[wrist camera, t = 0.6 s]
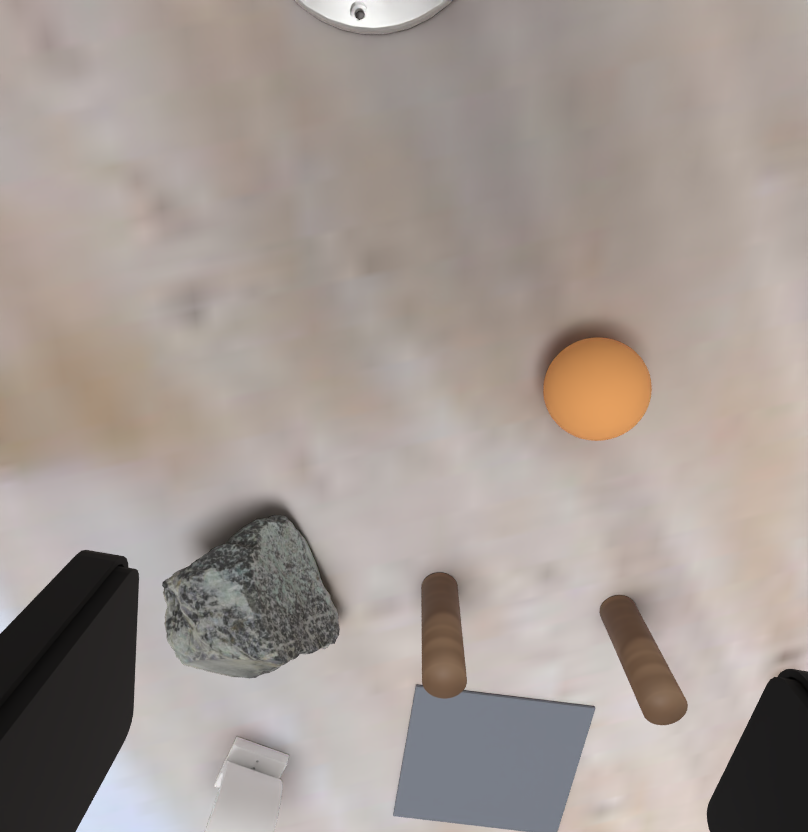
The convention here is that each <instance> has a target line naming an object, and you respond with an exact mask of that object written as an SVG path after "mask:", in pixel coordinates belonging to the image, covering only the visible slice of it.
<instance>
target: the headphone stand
mask: <svg viewBox="0 0 808 832" xmlns="http://www.w3.org/2000/svg"><path fill="white" fill-rule="evenodd" d="M288 758H289V755H288V754H285V753H282V752H279V751H276V750H274V749H271V748H268V747H265V746H262V745H260V744H257V743H254V742H251V741H248V740H246V739H243V738H240V737H236V739H235V741H234V743H233V745H232V747H231V749H230V752H229V754H228V756H227V758H226V760H225V762H224V764H223V766H222V768H221V770H220V772H219V774H218V776H217V779H216V782H215V785H214V786H215V787H218V788H219V791H218V794H217V797H216V800H215V803H214V806H213V809H212V812H211V815H210V818H209V821H208V823H207V826H206V829H205V832H274V830H275V827H276V822H277V818H278V814H279V809H280V804H281V798H282V787H283V786H282V780H280V779H279V778H280V777H281V775H282V773H283V771H284V769H285V767H286V765H287V763H288Z"/></svg>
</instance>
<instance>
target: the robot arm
mask: <svg viewBox="0 0 808 832" xmlns="http://www.w3.org/2000/svg"><path fill="white" fill-rule="evenodd" d="M295 1H296V3H297V4H298V5H299V6H300V7H302V8H303V9H305V10H306V11H308V12H309V13H310V14H312V15H313V16H315V17H316V18H318V19H319V20H321V21H323V22H325V23H327V24H330V25H332V26H334V27H337V28H339V29H341V30H345V31H350V32H355V33H360V34H388V33H393V32H397V31H401V30H405V29H409V28H411V27H413V26H415V25H417V24H419V23H422V22H424V21H426V20H428V19H430V18H431V17H433V16H434V15H435V14H437V13H438V12H439V11H441V10H442V9H443V8H444V7H446V6H447V5H448V4H450V3H451V2H452V0H295ZM358 11H363V12H364V13H365V16H364V18H363V19H362V20H357V19H356V18H355V15H356V13H357V12H358ZM138 589H139V573H138V570H136V569H132V568H128V561H127V559H126V558H125V557H124V556H119V555H113V554H107V553H101V552H95V551H89V550H83V551H81V552H79V553H78V554H77V555H76V556H75V557H74V558H73V559H72V560H71V561H70V562H69V563H68V564H67V565H66V566H65V567H64V568H63V569H62V570H61V571H60V572H59V573H58V574H57V575H56V577H55V578H54V579H53V580H52V581H51V582H50V583H49V584H48V585H47V586H46V587H45V588H44V589H43V590H42V591H41V592H40V593H39V594H38V595H37V596H36V597H35V598H34V599H33V600H32V602H31V603H30V604H29V605H28V606H27V607H26V608H25V609H24V610H23V611H22V612H21V613H20V614H19V615H18V616H17V617H16V618H15V619H14V620H13V621H12V622H11V623H10V624H9V625H8V627H7V628H6V629H5V630H4V631H3V632H2V633H1V634H0V832H76V830H77V828H78V826H79V824H80V822H81V820H82V819H83V817H84V815H85V813H86V811H87V809H88V808H89V806H90V804H91V802H92V800H93V798H94V796H95V795H96V793H97V791H98V789H99V787H100V785H101V784H102V782H103V780H104V778H105V776H106V774H107V773H108V771H109V769H110V767H111V765H112V763H113V761H114V760H115V758H116V756H117V754H118V752H119V750H120V749H121V747H122V745H123V743H124V741H125V739H126V737H127V734H128V732H129V729H130V725H131V722H132V717H133V708H134V684H135V660H136V636H137V612H138ZM707 822H708V827H709V830H710V832H808V672H807V671H801V670H795V669H786V670H784V671H782V672H781V673H780V674H779V675H778V677H774V678H772V679H770V681H769V682H768V683H767V685H766V687H765V689H764V691H763V693H762V695H761V698H760V700H759V702H758V704H757V706H756V708H755V710H754V712H753V714H752V716H751V718H750V720H749V722H748V724H747V726H746V728H745V730H744V732H743V734H742V736H741V738H740V740H739V742H738V744H737V746H736V748H735V751H734V753H733V755H732V757H731V759H730V761H729V763H728V765H727V767H726V769H725V771H724V773H723V775H722V777H721V779H720V781H719V783H718V785H717V787H716V789H715V791H714V793H713V795H712V797H711V799H710V801H709V804H708V808H707Z"/></svg>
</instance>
